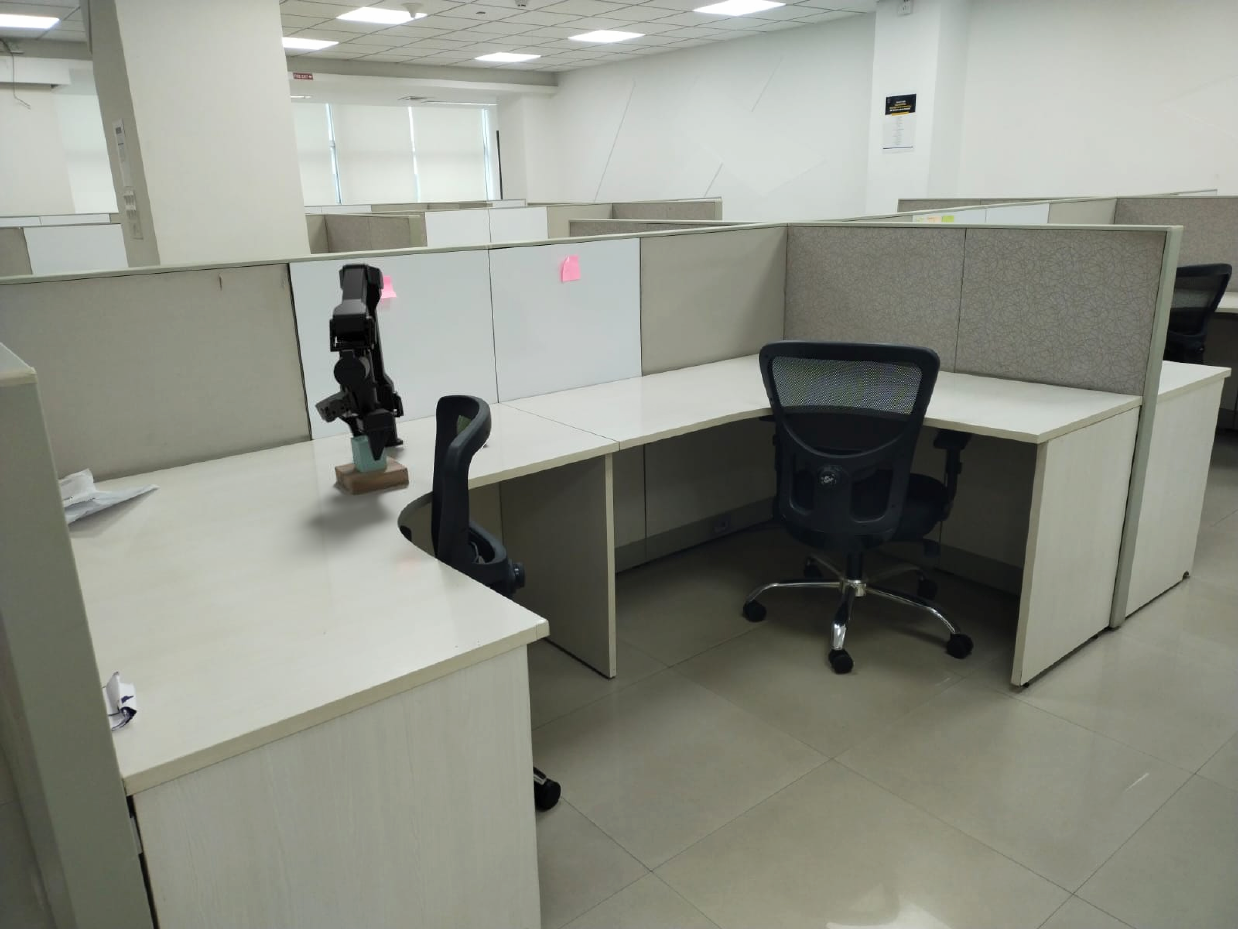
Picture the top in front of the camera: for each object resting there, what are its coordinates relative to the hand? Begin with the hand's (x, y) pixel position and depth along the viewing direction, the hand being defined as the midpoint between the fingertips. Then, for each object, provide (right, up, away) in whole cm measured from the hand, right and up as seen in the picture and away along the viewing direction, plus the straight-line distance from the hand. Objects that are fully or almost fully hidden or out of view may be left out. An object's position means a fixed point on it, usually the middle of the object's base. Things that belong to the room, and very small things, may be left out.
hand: (369, 455), depth 173 cm
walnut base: (0, -5, +2) cm, 6 cm away
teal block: (0, -2, +1) cm, 3 cm away
